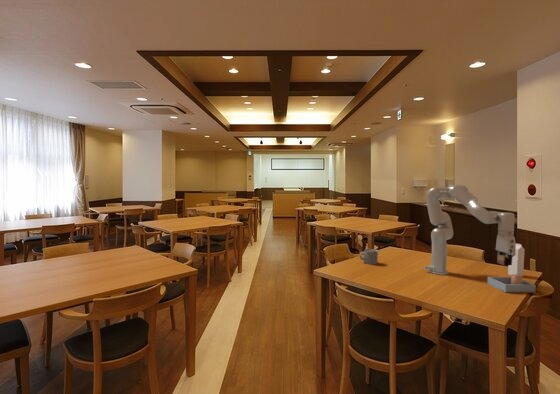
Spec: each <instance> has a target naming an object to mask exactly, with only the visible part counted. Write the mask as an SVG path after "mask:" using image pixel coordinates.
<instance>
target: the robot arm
mask: <svg viewBox="0 0 560 394" xmlns="http://www.w3.org/2000/svg"><path fill="white" fill-rule="evenodd" d="M443 199H444V200H445V199H446V200H447V199H454V200H455V201H457V202H458V203H460V204H461V205H463V206H464V207H465V208H466V209H467V210H468V212H469V213H470V214H471V215H472V216H473V217H475V218H476V219H477V220H479V221H480V222H481V223H483V224H486V225H490V224H498V225H497V226H498V227H497V236H496V241H495V242H496V243H495V248H494V250H495V251H496V254H497V256H498V255H506V258H505V265H504V266H508V265H511V258H512V257H513V256H514V255H516V253H515V252H516V244H517V243H516V237H515V236H514V233H515V218H516V217H515V214H514V212H502V211H496V210H495V211H494V210H487V209H486V208H485V207H483V206H482V205H481V204H480V203H479V200H478V198H477V196H475V195H474V194H472V193H471V192H469V189H468V187H467V186H466V185H462V184H455V185H449V186H434V187H431V188H430V189H428V191H427V192H426V194H425V204H426V207H427V212H428V216H429V222H430V223H431V225H432V226H436V227H435V228H434V229H432V231H431V232H430V238H431V262H430V264H429V265H428V266H427V265H424V266H423V269H424V270H428V272H429V273H432V274H434V275H441V276H442V275H443V276H445V275H449V274H450V271H449V270H447V260H448V243H447V241H448V240H451V239H452V238H453V236H454V228H453V224H452V219H451V216H450V215H449V214H448V213H447V212H446V211H443V210H442V205H441V203H440V201H439V200H443Z"/></svg>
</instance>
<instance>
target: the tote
mask: <svg viewBox="0 0 560 394" xmlns="http://www.w3.org/2000/svg"><path fill="white" fill-rule="evenodd" d="M486 284H487V285H489V286H490V287H493V288H494V289H497V290H499V291H502V292H503V293H515V294H516V293H517V294H518V293H519V292H528V294H529V293H530V294H532V293H533V294H535V293H536V289H537V288H536V287H537V285H536V284H534V283H531V282H529V281H526V280H523V279H522V283H521V284H511V276H487V283H486Z"/></svg>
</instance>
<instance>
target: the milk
mask: <svg viewBox="0 0 560 394" xmlns="http://www.w3.org/2000/svg"><path fill="white" fill-rule="evenodd" d="M515 253H516V255H514V256H513V257H512V265H507V267H508V268H507V275H509V276H511V274H516V275H521V276H522V277H524V268H525V267H524V265H525V264H524V263H525V248H524V247H523V246H522V244H520V243H516V252H515Z"/></svg>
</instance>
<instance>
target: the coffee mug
mask: <svg viewBox="0 0 560 394" xmlns="http://www.w3.org/2000/svg"><path fill="white" fill-rule="evenodd" d="M362 255H363V257H362ZM378 255H379V251H378V249H374V248H365V249H364V251H361V252H360V253H359V258H360V260H362V261H363V264H365V265H371V266H375V265H378Z"/></svg>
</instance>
